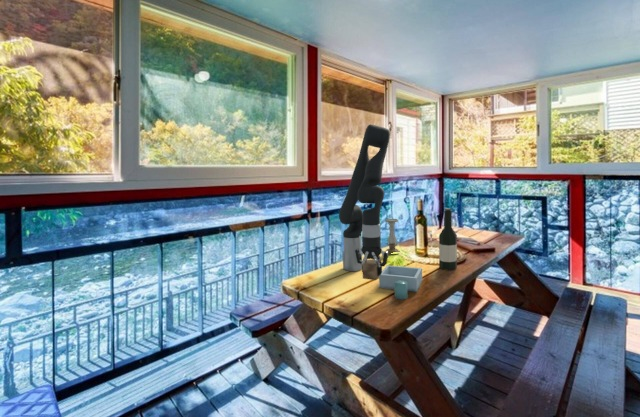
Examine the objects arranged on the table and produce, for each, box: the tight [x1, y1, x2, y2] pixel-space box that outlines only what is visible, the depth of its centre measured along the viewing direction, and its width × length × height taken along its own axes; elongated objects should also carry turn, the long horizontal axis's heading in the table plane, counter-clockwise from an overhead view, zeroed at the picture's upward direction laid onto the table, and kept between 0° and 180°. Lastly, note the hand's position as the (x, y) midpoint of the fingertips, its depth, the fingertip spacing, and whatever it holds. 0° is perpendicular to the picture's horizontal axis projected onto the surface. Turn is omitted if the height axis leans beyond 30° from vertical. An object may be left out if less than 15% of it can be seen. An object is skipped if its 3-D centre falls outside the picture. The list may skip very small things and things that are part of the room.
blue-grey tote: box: [378, 264, 423, 293], centre depth 150 cm, size 16×14×6 cm
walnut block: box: [362, 259, 379, 281], centre depth 141 cm, size 6×7×6 cm
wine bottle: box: [438, 208, 458, 271], centre depth 168 cm, size 8×8×30 cm
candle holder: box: [384, 218, 401, 256], centre depth 201 cm, size 9×9×20 cm
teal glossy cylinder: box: [394, 281, 408, 300], centre depth 136 cm, size 5×5×6 cm
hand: (371, 274), depth 141 cm, fingers closed on walnut block, 5 cm apart
